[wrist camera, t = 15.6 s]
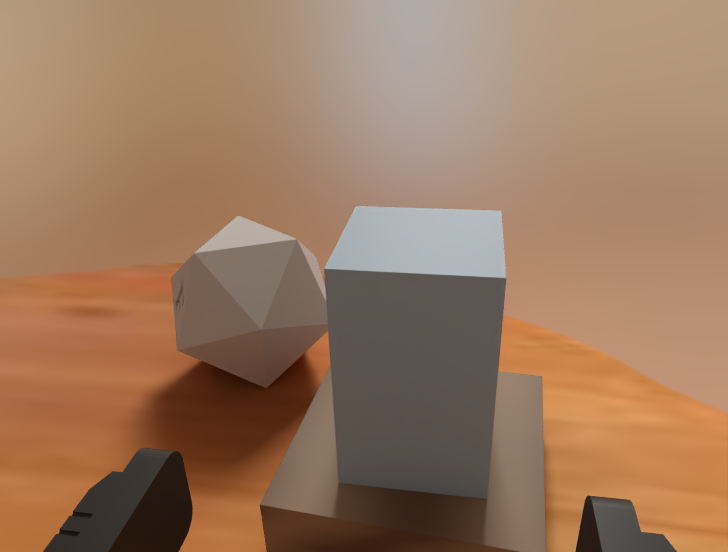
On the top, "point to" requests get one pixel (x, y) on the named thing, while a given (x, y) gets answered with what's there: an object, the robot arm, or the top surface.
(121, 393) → the top surface
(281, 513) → the walnut base
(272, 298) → the die
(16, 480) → the top surface
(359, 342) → the gray block
